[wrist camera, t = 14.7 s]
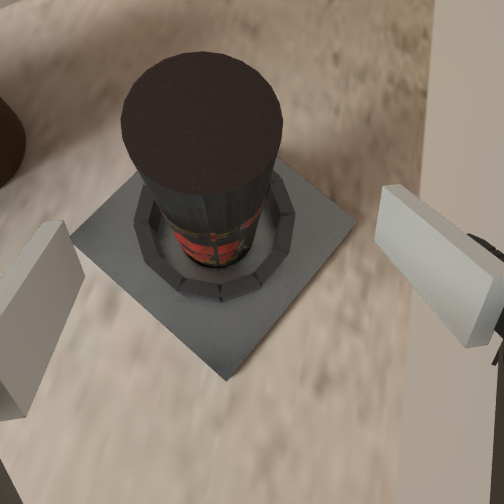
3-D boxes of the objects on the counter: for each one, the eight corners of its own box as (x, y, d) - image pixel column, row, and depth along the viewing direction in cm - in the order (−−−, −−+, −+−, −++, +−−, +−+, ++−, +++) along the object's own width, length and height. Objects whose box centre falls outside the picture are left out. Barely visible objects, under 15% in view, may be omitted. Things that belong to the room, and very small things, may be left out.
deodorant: (164, 218, 28) (91, 92, 13) (229, 182, 29) (230, 28, 14) (202, 283, 27) (170, 226, 12) (268, 243, 28) (313, 147, 13)
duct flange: (73, 241, 28) (47, 227, 24) (210, 108, 31) (207, 76, 27) (226, 379, 26) (226, 388, 22) (353, 225, 30) (372, 209, 26)
